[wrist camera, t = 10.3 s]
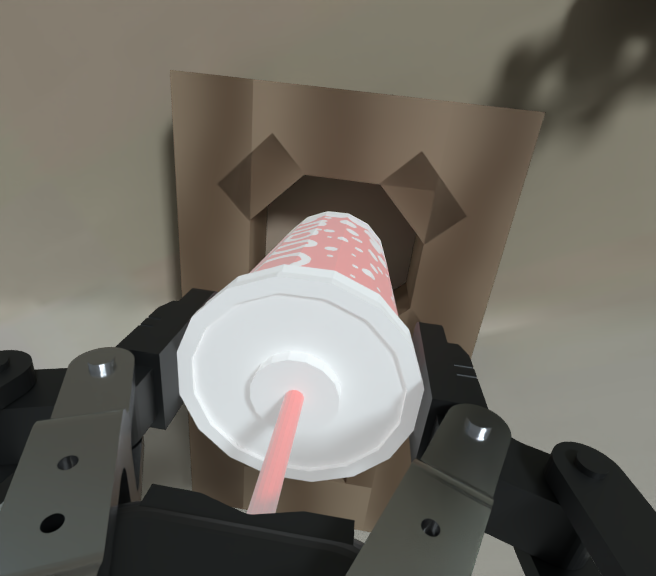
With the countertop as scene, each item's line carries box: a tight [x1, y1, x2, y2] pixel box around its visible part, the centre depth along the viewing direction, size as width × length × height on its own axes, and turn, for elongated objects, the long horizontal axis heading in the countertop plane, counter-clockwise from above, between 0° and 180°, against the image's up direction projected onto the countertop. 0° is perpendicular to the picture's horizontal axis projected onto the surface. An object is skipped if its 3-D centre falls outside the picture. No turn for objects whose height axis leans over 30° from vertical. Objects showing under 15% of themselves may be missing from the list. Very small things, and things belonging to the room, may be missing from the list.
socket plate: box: [170, 70, 545, 532], centre depth 21 cm, size 14×24×3 cm, turn 174°
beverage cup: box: [177, 211, 424, 514], centre depth 12 cm, size 6×6×14 cm
